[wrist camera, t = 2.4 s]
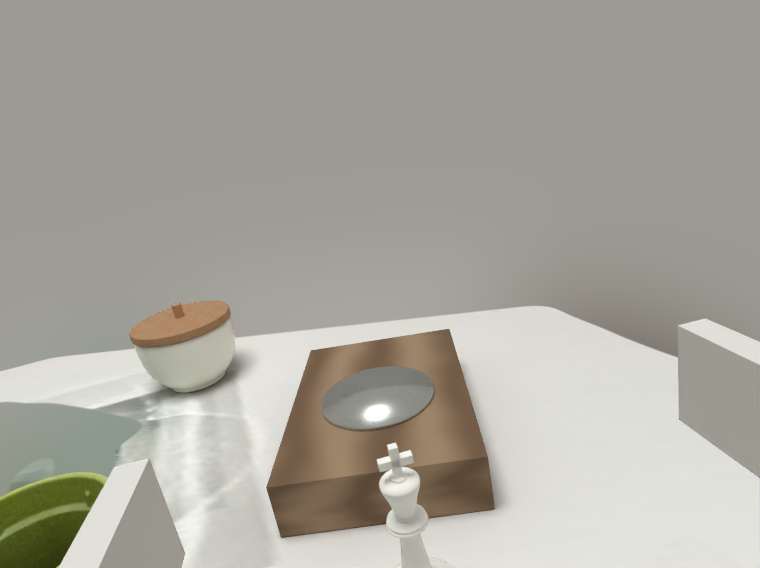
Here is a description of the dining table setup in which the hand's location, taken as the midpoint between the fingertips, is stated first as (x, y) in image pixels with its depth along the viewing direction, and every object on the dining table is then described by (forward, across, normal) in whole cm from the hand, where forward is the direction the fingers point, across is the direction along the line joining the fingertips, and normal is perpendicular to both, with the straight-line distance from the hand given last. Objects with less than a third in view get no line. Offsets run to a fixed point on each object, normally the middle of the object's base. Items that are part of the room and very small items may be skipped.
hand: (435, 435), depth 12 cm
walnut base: (+26, 0, -17) cm, 31 cm away
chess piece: (+10, -1, -17) cm, 20 cm away
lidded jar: (+46, -19, -17) cm, 52 cm away
